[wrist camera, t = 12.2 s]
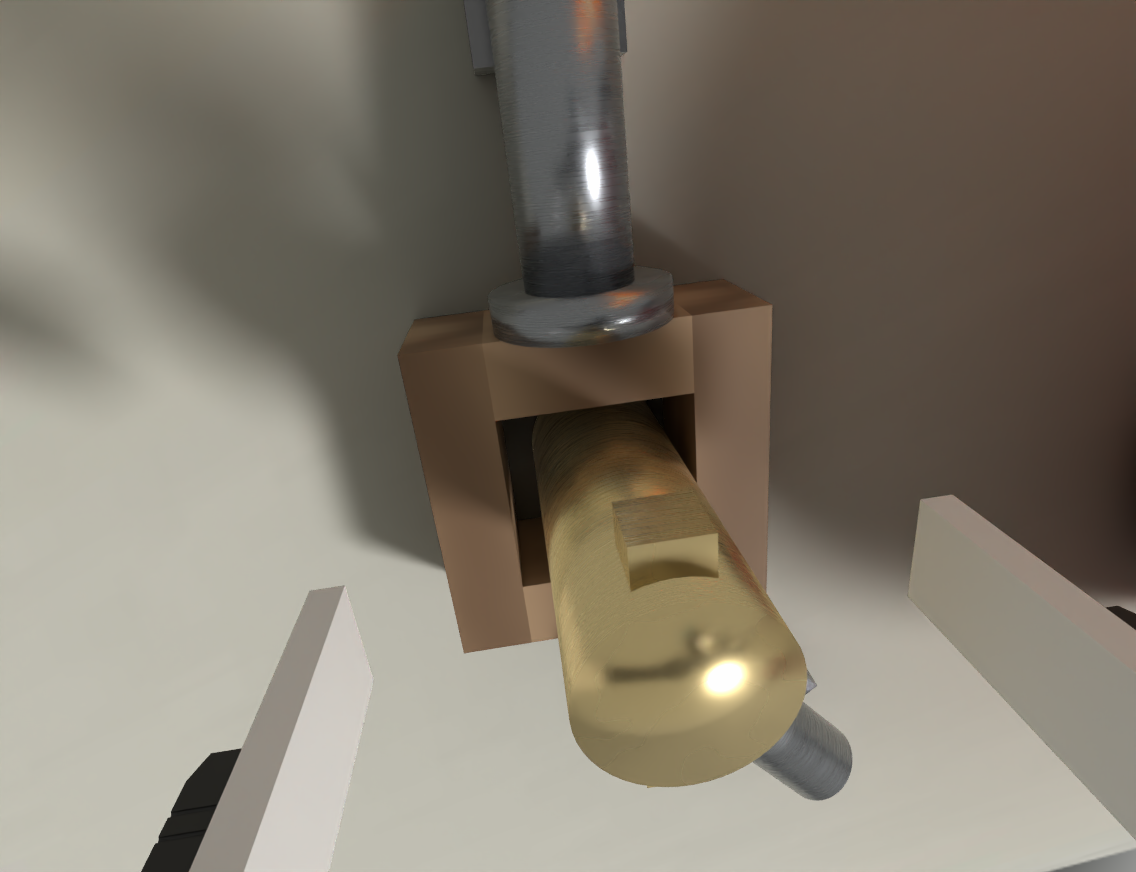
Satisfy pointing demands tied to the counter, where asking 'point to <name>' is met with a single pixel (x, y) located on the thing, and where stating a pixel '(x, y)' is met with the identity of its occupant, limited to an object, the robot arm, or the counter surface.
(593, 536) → the joint pin
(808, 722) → the shaft
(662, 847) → the counter surface
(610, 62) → the shaft
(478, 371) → the coupling block
